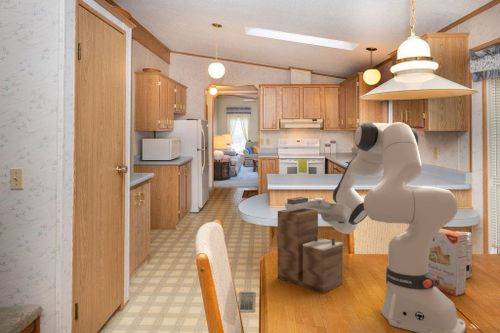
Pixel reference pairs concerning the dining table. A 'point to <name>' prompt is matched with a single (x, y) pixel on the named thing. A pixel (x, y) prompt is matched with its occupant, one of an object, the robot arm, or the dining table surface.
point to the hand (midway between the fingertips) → (315, 200)
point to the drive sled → (301, 203)
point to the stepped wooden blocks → (307, 252)
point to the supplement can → (468, 258)
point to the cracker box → (449, 261)
